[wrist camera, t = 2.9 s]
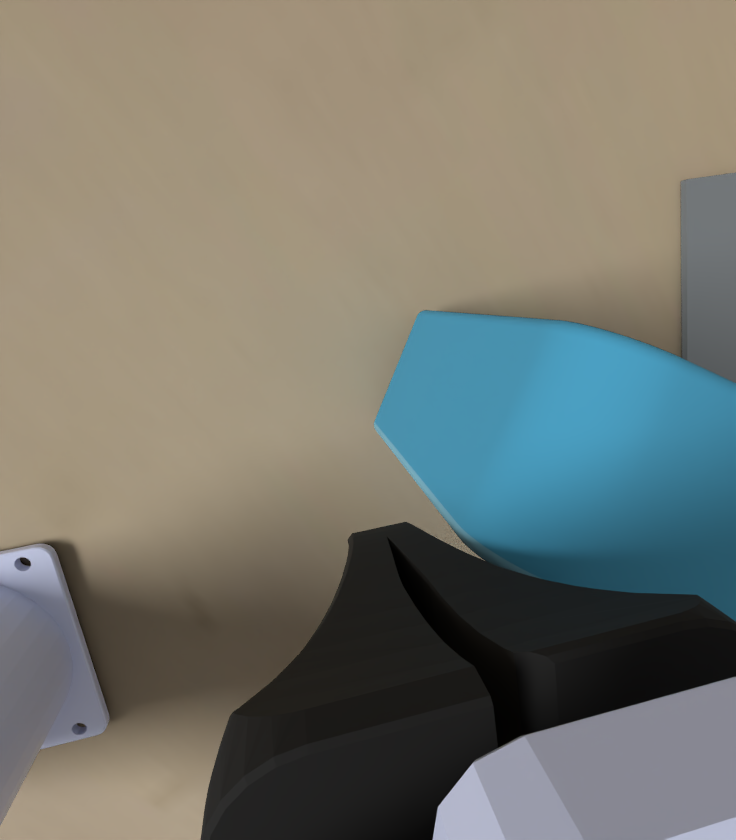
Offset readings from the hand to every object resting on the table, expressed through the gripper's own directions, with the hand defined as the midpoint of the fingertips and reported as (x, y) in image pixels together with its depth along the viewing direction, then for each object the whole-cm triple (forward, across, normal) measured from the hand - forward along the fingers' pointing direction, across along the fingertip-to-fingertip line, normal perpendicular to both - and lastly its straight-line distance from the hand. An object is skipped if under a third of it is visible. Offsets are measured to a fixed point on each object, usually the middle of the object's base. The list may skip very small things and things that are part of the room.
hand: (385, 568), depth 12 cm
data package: (+9, -8, 0) cm, 12 cm away
